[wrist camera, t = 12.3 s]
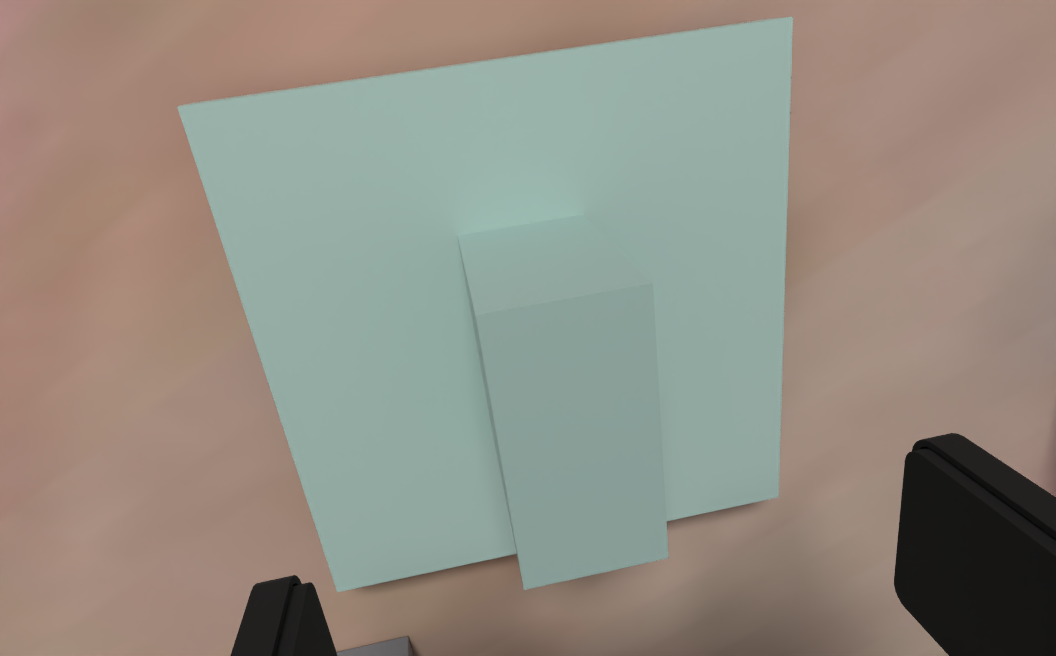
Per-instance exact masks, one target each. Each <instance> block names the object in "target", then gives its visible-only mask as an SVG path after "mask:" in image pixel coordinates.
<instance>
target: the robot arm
mask: <svg viewBox="0 0 1056 656" xmlns="http://www.w3.org/2000/svg"><path fill="white" fill-rule="evenodd" d="M894 586H895V590H896V593H897V596H898V598H899V600H900V601H901V603H902V604H903V606H904V607H905V608H906V609H907V610H908V611H909V612H910V614H911V615H912V616H913V617H914V618H915V619H916V620H917V621H918V622H919V623H920V624H921V626H922V627H923V628H924V629H925V630H926V631H927V632H928V633H929V634H930V635H931V636H932V638H933V639H934V640H935V641H936V642H937V643H938V644H939V645H940V646H941V647H942V648H943V650H944V651H945V652H946V653H947V654H948V655H949V656H1056V497H1054V496H1053V495H1051V494H1050V493H1048V492H1047V491H1045V490H1044V489H1042V488H1041V487H1039V486H1038V485H1036V484H1035V483H1033V482H1032V481H1030V480H1029V479H1027V478H1026V477H1024V476H1023V475H1021V474H1020V473H1018V472H1017V471H1015V470H1014V469H1012V468H1011V467H1009V466H1007V465H1006V464H1004V463H1003V462H1001V461H1000V460H998V459H997V458H995V457H994V456H992V455H991V454H989V453H988V452H986V451H985V450H983V449H982V448H980V447H979V446H977V445H976V444H974V443H973V442H971V441H970V440H968V439H967V438H965V437H963V436H961V435H959V434H955V433H950V434H946V435H941V436H936V437H932V438H927V439H923V440H919V441H917V442H916V443H915V444H914V446H913V449H912V452H909V453H908V454H907V456H906V459H905V467H904V478H903V489H902V500H901V511H900V522H899V532H898V543H897V554H896V565H895V576H894ZM231 656H337V653H336V650H335V647H334V644H333V641H332V638H331V635H330V632H329V629H328V626H327V623H326V620H325V616H324V613H323V610H322V607H321V604H320V601H319V598H318V595H317V592H316V589H315V587H314V585H313V584H312V583H305V584H301V581H300V579H299V578H298V577H297V576H295V575H293V576H289V577H284V578H279V579H275V580H270V581H266V582H261V583H257V584H255V585H254V586H253V589H252V591H251V593H250V597H249V600H248V603H247V606H246V609H245V612H244V615H243V619H242V622H241V625H240V628H239V631H238V634H237V637H236V640H235V644H234V647H233V650H232V653H231Z"/></svg>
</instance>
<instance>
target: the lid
mask: <svg viewBox="0 0 1056 656" xmlns="http://www.w3.org/2000/svg"><path fill="white" fill-rule="evenodd" d="M792 28H793V17H784V18H772V19H764V20H758V21H751V22H744V23H737V24H730V25H723V26H716V27H710V28H703V29H696V30H689V31H682V32H675V33H668V34H662V35H655V36H648V37H641V38H634V39H627V40H620V41H613V42H607V43H600V44H593V45H586V46H579V47H572V48H565V49H559V50H552V51H545V52H538V53H531V54H524V55H517V56H511V57H504V58H497V59H490V60H483V61H476V62H469V63H463V64H456V65H449V66H442V67H435V68H428V69H421V70H415V71H408V72H401V73H394V74H387V75H380V76H373V77H367V78H360V79H353V80H346V81H339V82H332V83H325V84H319V85H312V86H305V87H298V88H291V89H284V90H277V91H270V92H264V93H257V94H250V95H243V96H236V97H229V98H222V99H216V100H209V101H202V102H195V103H190V104H186V105H182V106H178V107H177V108H178V111H179V114H180V117H181V120H182V123H183V126H184V129H185V132H186V135H187V138H188V141H189V144H190V147H191V150H192V153H193V156H194V159H195V162H196V165H197V168H198V171H199V174H200V177H201V180H202V183H203V186H204V189H205V192H206V196H207V199H208V202H209V205H210V208H211V211H212V214H213V217H214V220H215V223H216V226H217V229H218V232H219V235H220V238H221V241H222V244H223V247H224V250H225V253H226V256H227V259H228V262H229V265H230V268H231V271H232V274H233V277H234V280H235V283H236V286H237V289H238V292H239V296H240V299H241V302H242V305H243V308H244V311H245V314H246V317H247V320H248V323H249V326H250V329H251V332H252V335H253V338H254V341H255V344H256V347H257V350H258V353H259V356H260V359H261V362H262V365H263V368H264V371H265V374H266V377H267V380H268V383H269V386H270V389H271V393H272V396H273V399H274V402H275V405H276V408H277V411H278V414H279V417H280V420H281V423H282V426H283V429H284V432H285V435H286V438H287V441H288V444H289V447H290V450H291V453H292V456H293V459H294V462H295V465H296V468H297V471H298V474H299V477H300V480H301V483H302V486H303V489H304V493H305V496H306V499H307V502H308V505H309V508H310V511H311V514H312V517H313V520H314V523H315V526H316V529H317V532H318V535H319V538H320V541H321V544H322V547H323V550H324V553H325V556H326V559H327V562H328V565H329V568H330V571H331V574H332V577H333V580H334V583H335V586H336V590H337V592H341V591H346V590H350V589H355V588H360V587H364V586H369V585H374V584H378V583H383V582H388V581H392V580H397V579H401V578H406V577H411V576H415V575H420V574H425V573H429V572H434V571H439V570H443V569H448V568H452V567H457V566H462V565H466V564H471V563H476V562H480V561H485V560H490V559H494V558H499V557H503V556H508V555H513V554H517V558H518V563H519V568H520V573H521V578H522V583H523V588H524V590H526V589H531V588H535V587H540V586H544V585H549V584H553V583H558V582H562V581H567V580H571V579H576V578H580V577H585V576H589V575H594V574H598V573H603V572H608V571H612V570H617V569H621V568H626V567H630V566H635V565H639V564H644V563H648V562H653V561H657V560H662V559H666V558H668V540H667V522H666V521H670V520H675V519H680V518H684V517H689V516H694V515H698V514H703V513H708V512H712V511H717V510H721V509H726V508H731V507H735V506H740V505H745V504H749V503H754V502H759V501H763V500H768V499H772V498H777V497H779V464H780V431H781V397H782V364H783V330H784V297H785V263H786V230H787V196H788V162H789V129H790V95H791V62H792Z"/></svg>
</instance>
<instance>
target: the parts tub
mask: <svg viewBox="0 0 1056 656" xmlns="http://www.w3.org/2000/svg"><path fill="white" fill-rule="evenodd" d="M336 653H337V656H413V652H412V648H411V645H410V641H409V638H408V636H407V637H402V638H398V639H394V640H389V641H385V642H380V643H376V644H371V645H367V646H363V647H358V648H354V649H349V650H345V651H341V652H336Z"/></svg>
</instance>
